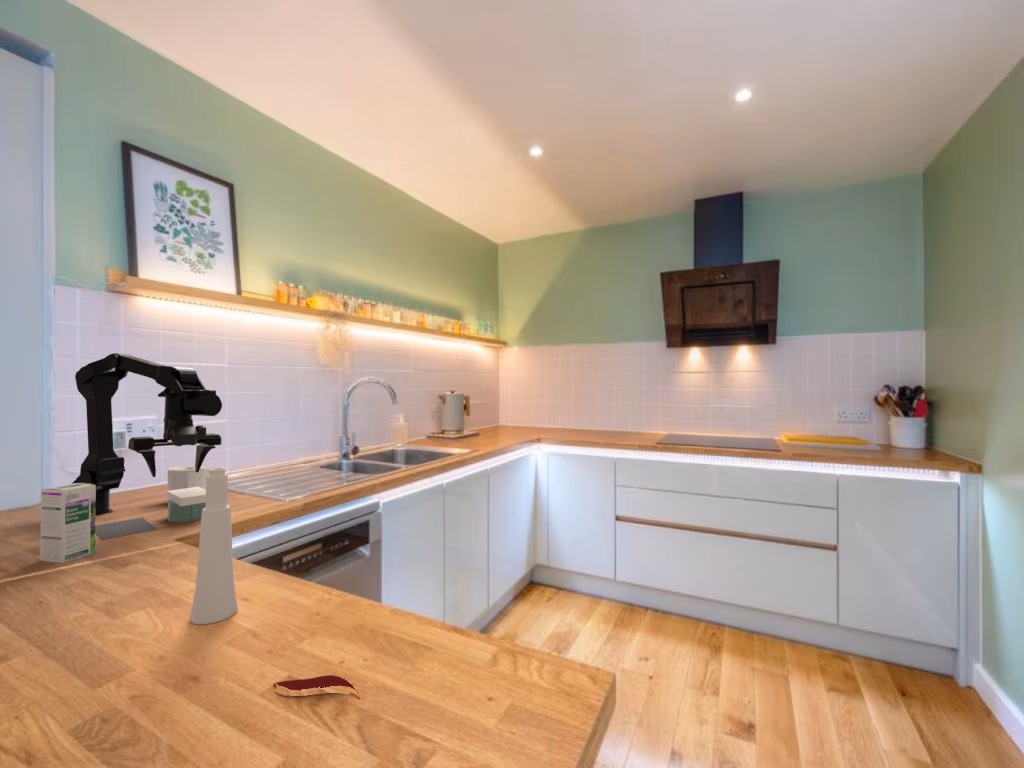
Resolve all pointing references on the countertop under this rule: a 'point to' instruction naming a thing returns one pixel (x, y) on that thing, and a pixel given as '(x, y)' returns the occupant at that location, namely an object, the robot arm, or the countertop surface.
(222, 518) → the cosmetic bottle
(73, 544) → the syrup box
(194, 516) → the bowl
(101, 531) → the mat
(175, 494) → the white rectangular block
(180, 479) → the toilet tissue
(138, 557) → the countertop surface
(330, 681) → the cayenne pepper
